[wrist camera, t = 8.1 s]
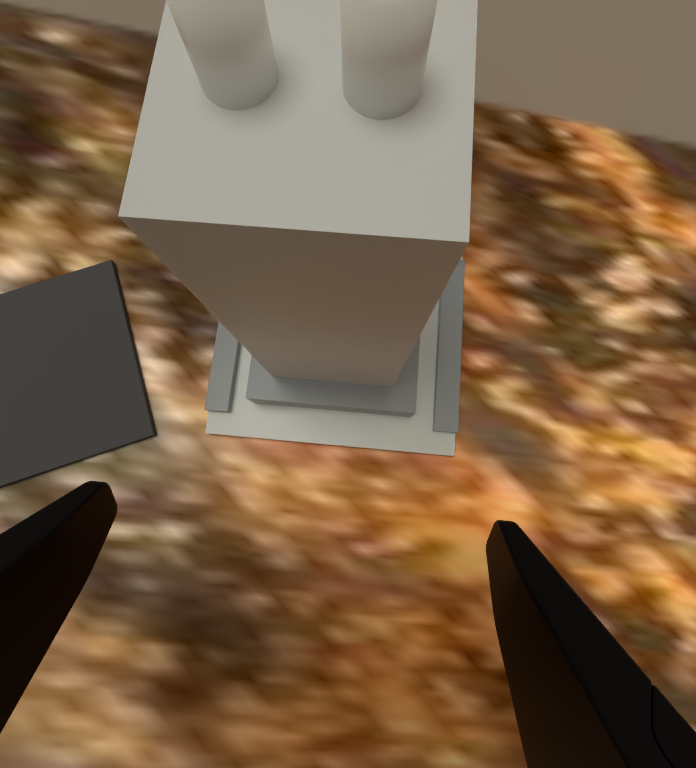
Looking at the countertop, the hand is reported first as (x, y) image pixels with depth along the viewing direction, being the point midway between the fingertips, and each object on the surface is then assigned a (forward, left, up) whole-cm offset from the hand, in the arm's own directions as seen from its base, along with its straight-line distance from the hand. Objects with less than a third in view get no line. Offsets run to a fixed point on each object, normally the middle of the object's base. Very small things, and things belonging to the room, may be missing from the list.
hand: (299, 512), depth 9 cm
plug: (+7, +1, -8) cm, 11 cm away
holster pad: (+1, +14, -8) cm, 17 cm away
